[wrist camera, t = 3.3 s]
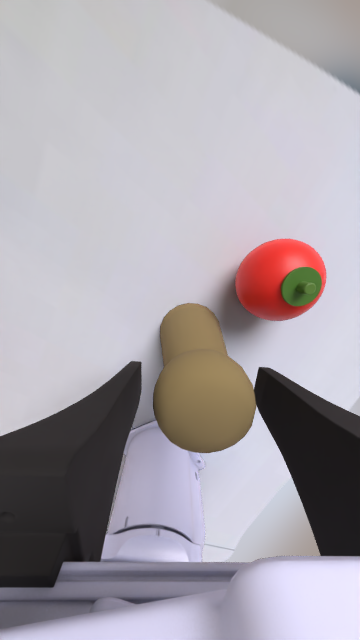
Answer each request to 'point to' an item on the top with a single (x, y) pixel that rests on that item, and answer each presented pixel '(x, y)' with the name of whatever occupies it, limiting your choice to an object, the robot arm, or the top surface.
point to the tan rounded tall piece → (200, 384)
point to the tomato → (280, 279)
